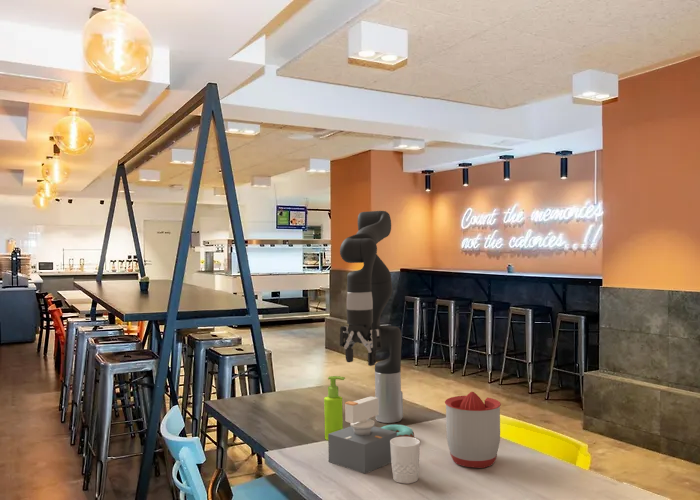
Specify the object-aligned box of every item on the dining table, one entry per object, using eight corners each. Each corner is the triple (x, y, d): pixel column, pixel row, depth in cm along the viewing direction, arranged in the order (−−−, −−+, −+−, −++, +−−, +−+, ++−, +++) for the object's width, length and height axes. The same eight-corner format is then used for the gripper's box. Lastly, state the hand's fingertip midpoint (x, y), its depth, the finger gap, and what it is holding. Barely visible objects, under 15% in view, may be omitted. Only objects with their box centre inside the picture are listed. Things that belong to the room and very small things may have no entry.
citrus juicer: (506, 454, 172) (505, 386, 172) (496, 475, 157) (495, 400, 157) (454, 447, 179) (453, 382, 179) (439, 467, 163) (438, 395, 163)
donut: (371, 437, 190) (370, 425, 190) (404, 433, 194) (404, 421, 194) (385, 449, 178) (385, 436, 178) (420, 444, 183) (420, 431, 183)
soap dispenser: (344, 441, 185) (343, 378, 185) (322, 440, 187) (321, 378, 187) (347, 436, 191) (346, 374, 191) (327, 434, 193) (326, 374, 193)
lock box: (361, 448, 179) (360, 416, 179) (397, 459, 169) (396, 425, 169) (328, 461, 168) (328, 426, 168) (365, 473, 159) (364, 437, 159)
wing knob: (366, 418, 175) (365, 393, 175) (383, 423, 170) (383, 397, 170) (340, 427, 167) (340, 401, 167) (358, 432, 162) (358, 405, 162)
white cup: (388, 473, 159) (388, 437, 159) (417, 472, 159) (416, 435, 159) (393, 485, 151) (392, 446, 151) (423, 484, 152) (422, 445, 152)
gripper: (386, 307, 167) (387, 364, 167) (350, 305, 176) (351, 358, 176) (369, 310, 161) (370, 368, 161) (333, 307, 171) (333, 362, 171)
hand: (360, 363), depth 169 cm, fingers open, 8 cm apart
